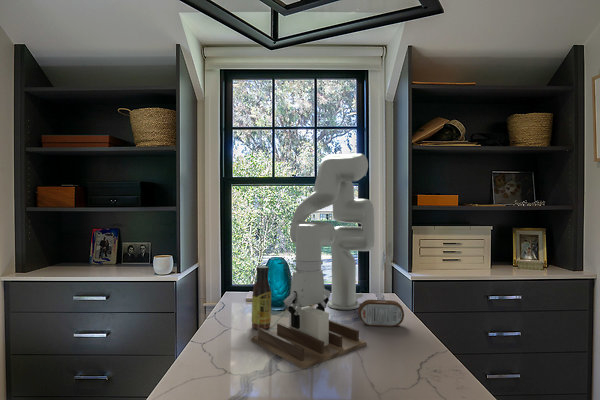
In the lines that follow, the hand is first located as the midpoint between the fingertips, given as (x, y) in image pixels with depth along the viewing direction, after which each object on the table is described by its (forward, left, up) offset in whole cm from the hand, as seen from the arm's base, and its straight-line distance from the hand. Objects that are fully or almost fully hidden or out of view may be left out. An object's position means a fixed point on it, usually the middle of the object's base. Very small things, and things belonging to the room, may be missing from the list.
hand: (308, 324), depth 110 cm
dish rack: (0, 0, -6) cm, 6 cm away
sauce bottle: (+3, -20, -6) cm, 21 cm away
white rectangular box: (0, 0, -4) cm, 5 cm away
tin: (-29, +4, -6) cm, 30 cm away
